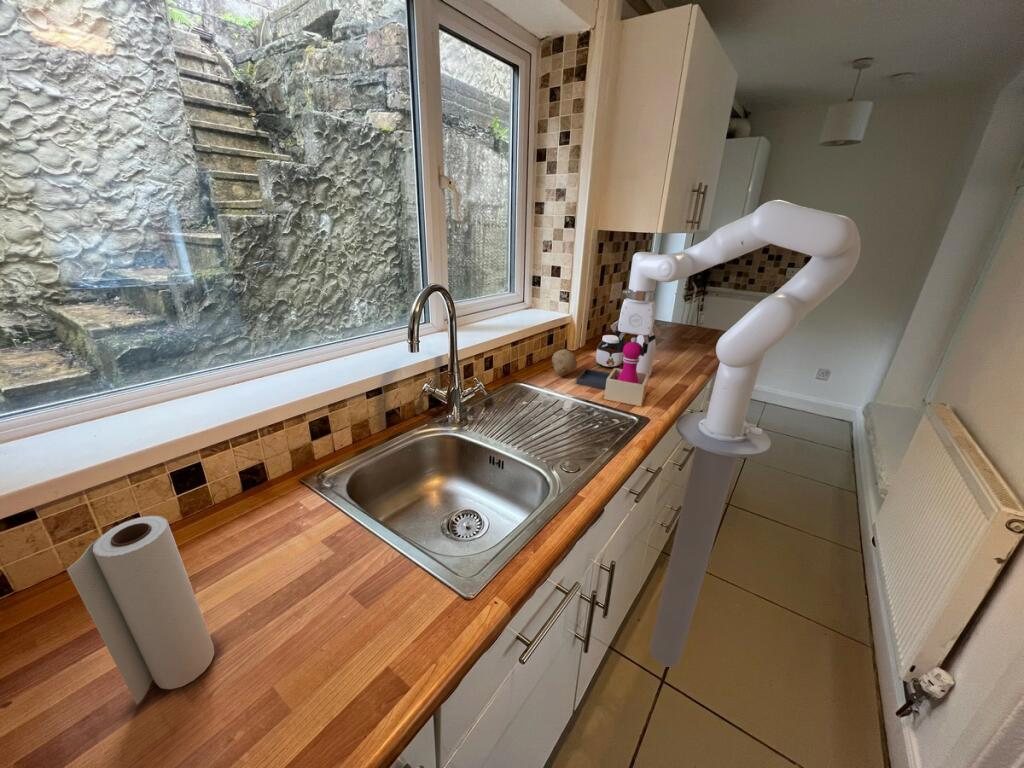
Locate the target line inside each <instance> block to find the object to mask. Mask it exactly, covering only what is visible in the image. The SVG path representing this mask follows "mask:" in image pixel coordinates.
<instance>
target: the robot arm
mask: <svg viewBox="0 0 1024 768" xmlns="http://www.w3.org/2000/svg"><path fill="white" fill-rule="evenodd" d="M768 245H774V246H777V247H780V248H783V249H787V250H790V251H794V252H798V253H801V254H804V255H808V256H811V258H810V260H809V261H808V262H807V264H805V265H804V266H803V267H801V269H800V270H799V271H797V272H796V273H795V274H794V275H793V276H792V277H791V278H790V279H789V280H788V281H787V282H786V283H784V284H783V285H782V286H781V287H780V288H778V289H777V290H776V291H774V292H773V293H771V294H770V295H768V296H767V297H765V298H763V299H762V300H761V301H759V302H758V303H756V304H755V306H754V307H752V308H751V309H750V310H749V311H747V313H746V314H745V315H744V316H742V317H741V318H740V319H739V320H738V321H737V322H736V323H734V324H733V325H732V326H731V327H730V328H729V329H728V330H727V331H725V333H723V334H722V335H721V336H720V337H719V338H718V340H717V342H716V346H715V355H716V357H717V359H718V360H719V364H718V368H717V371H716V376H715V379H714V383H713V388H712V391H711V396H710V400H709V405H708V409H707V411H706V412H707V417H706V419H703V420H701V421H700V422H699V425H698V427H699V429H700V431H701V432H702V433H704V434H705V435H707V436H709V437H711V438H714V439H717V440H720V441H725V442H741V441H743V440H745V439H746V437H747V434H748V433H752V434H755V435H760V436H761V434H762V431H763V428H760V427H757V424H753V423H750V424H747V421H746V417H747V413H748V409H749V407H750V403H751V398H752V395H753V392H754V388H755V385H756V382H757V378H758V374H759V371H760V369H761V365H762V362H763V360H764V358H765V354H766V353H767V352H768V351H769V350H770V349H772V348H773V347H774V346H775V345H778V344H779V342H781V341H782V340H783V339H785V338H786V337H787V336H788V335H789V334H791V333H792V332H793V331H794V330H795V329H796V328H797V326H798V325H799V324H800V322H801V321H802V320H803V319H804V318H805V317H806V316H807V315H809V313H810V312H811V311H813V310H814V309H815V308H816V307H818V306H819V305H821V303H823V302H824V301H825V300H826V299H827V298H828V297H829V296H831V294H833V293H834V292H835V291H836V290H837V289H839V288H840V286H842V285H843V284H844V283H845V282H846V281H847V280H848V278H849V277H850V276H851V274H852V273H853V272H854V270H855V268H856V266H857V264H858V262H859V260H860V255H861V249H862V247H861V246H862V243H861V237H860V233H859V229H858V227H857V224H856V222H855V221H854V220H852V219H851V218H850V217H848V216H846V215H841V214H838V213H833V212H827V211H823V210H819V209H815V208H810V207H806V206H802V205H798V204H795V203H791V202H789V201H786V200H782V199H772V200H769V201H767V202H764V203H763V204H761V205H760V206H758V207H757V208H756V209H755V210H754V211H753V212H751V213H749V214H747V215H745V216H742V217H740V218H739V219H736V220H734V221H732V222H730V223H728V224H725V225H723V226H721V227H719V228H717V229H716V230H714V232H713V233H711V235H710V236H708V237H707V238H706V239H704V240H702V241H700V242H699V243H697V244H695V245H692V246H690V247H688V248H686V249H684V250H683V249H682V250H681V251H679V252H673V253H666V254H658V253H657V252H650V251H639V252H638V251H637V252H635V253H634V254H633V256H632V260H631V268H630V274H629V282H628V288H627V289H623V291H622V295H625V296H626V298H624V299H623V302H622V304H621V309H620V314H619V318H618V320H616V321H615V322H614V323H612V324H611V325H610V326H609V328H610V329H611V331H612V332H613V333H614V335H615V336H617V337H618V339H619V345H618V349H620V352H619V353H621V352H623V346H624V345H625V344H626V339H625V336H626V334H630V335H637V336H638V335H643V337H644V343H643V346H642V352H641V356H644V354H645V353H647V350H648V344H649V343H650V342H651V341H653V340H654V339H655V340H656V339H657V338H658V337H660V336H661V335H662V334H663V331H662V330H661V329H660V328H659V327H658V325H657V324H656V321H655V319H656V301H655V300H654V299H655V292H656V285H657V281H658V282H662V283H673V282H676V281H679V280H683V279H685V278H688V277H690V276H692V275H695V274H698V273H700V272H702V271H705V270H707V269H710V268H712V267H715V266H717V265H720V264H724V263H727V262H730V261H732V260H734V259H736V258H739V257H741V256H743V255H746V254H748V253H751V252H754V251H755V250H759V249H761V248H763V247H765V246H768ZM652 331H653V332H654V333H653V335H652V336H650V337H649V335H650V334H651V333H652ZM756 427H757V428H756Z"/></svg>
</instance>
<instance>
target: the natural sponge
mask: <svg viewBox="0 0 1024 768" xmlns="http://www.w3.org/2000/svg"><path fill="white" fill-rule="evenodd" d="M551 361H552V362H551V363H552V366H553V369H554V371H555V373H556V374H557V375H558V376H559V377H565V376H567V375H568V374H570V373H572V372H574V371H575V370H576V369H577V367H578V361H577V359H576V356H575V355H574V353H573V352H572V351H570V350H569V349H566V348H563V349H558V350H557V351H555V352H554V353H553V355H552V356H551Z"/></svg>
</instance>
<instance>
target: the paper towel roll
mask: <svg viewBox="0 0 1024 768" xmlns="http://www.w3.org/2000/svg"><path fill="white" fill-rule="evenodd" d="M65 570H66V571H67V574H68V576H69V577H70V579H71V581H72V583H73V585H74V587H75V589H76V591H77V594H78V595H79V596H80V598H81V601H82V603H83V605H84V606H85V608H86V611H87V612H88V614H89V616H90V618H91V620H92V622H93V623H94V625H95V627H96V629H97V631H98V633H99V635H100V637H101V639H102V641H103V642H104V645H105V647H106V648H107V651H108V653H109V655H110V656H111V658H112V660H113V662H114V664H115V666H116V668H117V669H118V671H119V674H120V676H121V677H122V679H123V681H124V683H125V685H126V687H127V689H128V691H129V693H130V695H131V696H132V698H133V700H134V702H135V704H136V705H139V704H140V703H141V701H142V700H143V699H144V697H145V695H146V694H147V692H149V689H150V686H151V683H152V681H154V683H155V684H156V685H157V686H158V687H159V689H162V690H163V689H164V690H174V689H179V688H182V687H184V686H186V685H188V684H189V683H192V682H194V681H195V680H196V679H197V678H199V676H201V675H202V674H203V673H204V672H205V671H206V670H207V668H208V667H209V666H210V665H211V664H212V661H213V658H214V656H215V646H214V642H213V640H212V637H211V635H210V632H209V630H208V627H207V624H206V621H205V619H204V616H203V613H202V611H201V607H200V605H199V602H198V600H197V596H196V595H195V592H194V589H193V586H192V583H191V580H190V579H189V575H188V573H187V569H186V568H185V565H184V562H183V559H182V557H181V554H180V552H179V548H178V546H177V543H176V541H175V537H174V535H173V532H172V530H171V527H170V524H169V521H168V519H166V518H164V517H163V516H159V515H146V516H140V517H136V518H133V519H130V520H127V521H124V522H122V523H120V524H118V525H116V526H114V527H112V528H110V529H109V530H108V531H106V532H104V533H103V534H102V535H100V536H99V537H98V538H97V539H96V540H94V541H93V542H92V543H91V544H89V545H88V546H87V548H86V549H85V550H84V552H83V553H82V554H81V556H80V557H79V558H77V560H76V561H75V562H73V563H72V564H71V565H70V566H68V567H67V568H66V569H65Z"/></svg>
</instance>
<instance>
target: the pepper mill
mask: <svg viewBox="0 0 1024 768" xmlns="http://www.w3.org/2000/svg"><path fill="white" fill-rule="evenodd" d="M636 338H637V337H635V336H632V337H631V339H630V341H628V342H625V343H624V346H623V354H624V355H625V356H623V361H624V363H623V368H622V369H623V370H622V372H621V373H620V375H619V376H618V378H617V380H620V381H625V382H631V383H636V384H639V379H638V376H637V370H636V368H637V363H639V359H640V358H639V356H640V355H641V352H642V346H641V345H640V344H639V343H637V342H636V341H637V339H636Z"/></svg>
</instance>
